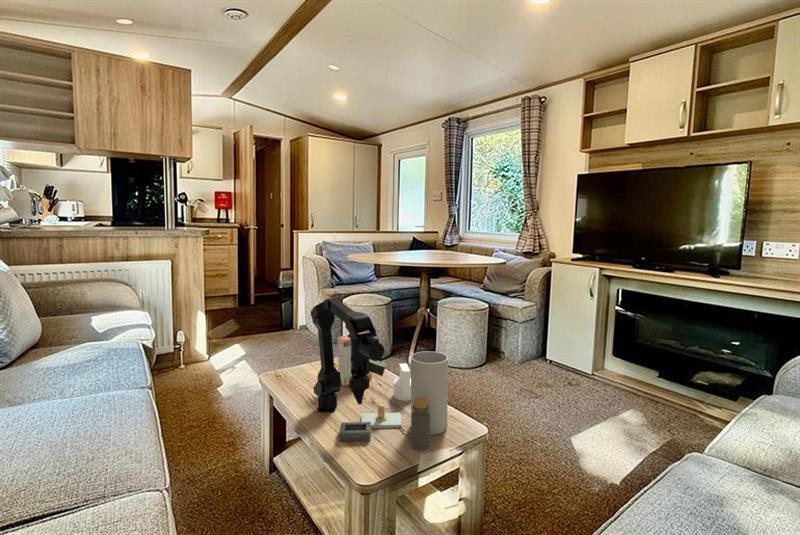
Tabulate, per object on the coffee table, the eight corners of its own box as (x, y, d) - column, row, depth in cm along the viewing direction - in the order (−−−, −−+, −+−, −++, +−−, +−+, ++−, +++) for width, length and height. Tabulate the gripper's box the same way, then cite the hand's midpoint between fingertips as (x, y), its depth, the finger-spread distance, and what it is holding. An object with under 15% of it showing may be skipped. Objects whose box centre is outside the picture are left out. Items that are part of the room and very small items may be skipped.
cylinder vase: (403, 424, 149) (403, 355, 146) (430, 415, 157) (431, 349, 154) (426, 440, 139) (427, 366, 136) (454, 428, 147) (455, 358, 144)
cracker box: (365, 375, 195) (364, 331, 192) (372, 379, 190) (371, 334, 188) (337, 382, 187) (336, 336, 184) (344, 387, 182) (343, 339, 179)
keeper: (360, 428, 147) (360, 411, 146) (362, 416, 156) (361, 400, 155) (401, 427, 148) (401, 410, 147) (400, 415, 157) (400, 399, 156)
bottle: (410, 441, 139) (410, 397, 137) (428, 440, 139) (428, 396, 137) (412, 451, 133) (412, 405, 131) (431, 450, 133) (431, 404, 131)
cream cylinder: (417, 399, 170) (417, 370, 168) (395, 401, 168) (395, 371, 167) (413, 390, 179) (413, 362, 177) (392, 391, 177) (392, 364, 176)
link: (339, 441, 138) (339, 433, 138) (341, 430, 145) (341, 422, 145) (370, 441, 139) (370, 432, 138) (371, 430, 146) (370, 421, 145)
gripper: (385, 361, 132) (385, 410, 134) (383, 343, 150) (383, 386, 152) (348, 362, 131) (349, 411, 133) (351, 344, 149) (352, 387, 151)
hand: (360, 398), depth 142 cm, fingers open, 9 cm apart
